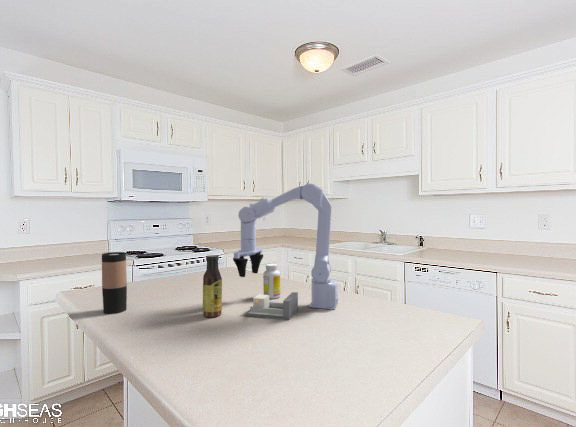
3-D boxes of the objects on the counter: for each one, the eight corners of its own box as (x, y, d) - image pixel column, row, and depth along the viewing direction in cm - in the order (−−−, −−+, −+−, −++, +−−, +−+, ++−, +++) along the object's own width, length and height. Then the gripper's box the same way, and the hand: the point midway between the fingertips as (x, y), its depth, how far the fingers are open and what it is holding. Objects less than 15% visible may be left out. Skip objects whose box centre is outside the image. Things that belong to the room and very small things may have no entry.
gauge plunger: (269, 306, 119) (269, 295, 119) (261, 313, 111) (261, 301, 111) (258, 305, 120) (258, 294, 120) (249, 312, 112) (249, 300, 112)
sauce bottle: (217, 318, 110) (216, 257, 110) (199, 317, 111) (198, 256, 111) (225, 312, 117) (224, 254, 116) (208, 311, 118) (207, 253, 117)
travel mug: (97, 312, 117) (96, 254, 117) (117, 306, 124) (116, 251, 123) (112, 315, 114) (110, 255, 113) (132, 309, 121) (131, 252, 120)
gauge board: (297, 309, 119) (297, 292, 119) (289, 319, 109) (289, 301, 108) (257, 306, 123) (257, 289, 123) (245, 315, 113) (245, 297, 113)
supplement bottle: (281, 294, 139) (281, 263, 138) (279, 299, 132) (279, 266, 132) (265, 294, 139) (264, 263, 139) (262, 299, 133) (261, 266, 132)
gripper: (252, 236, 137) (252, 270, 137) (227, 240, 125) (227, 277, 125) (266, 237, 133) (266, 272, 133) (242, 241, 121) (242, 279, 121)
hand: (248, 274), depth 129 cm, fingers open, 7 cm apart
